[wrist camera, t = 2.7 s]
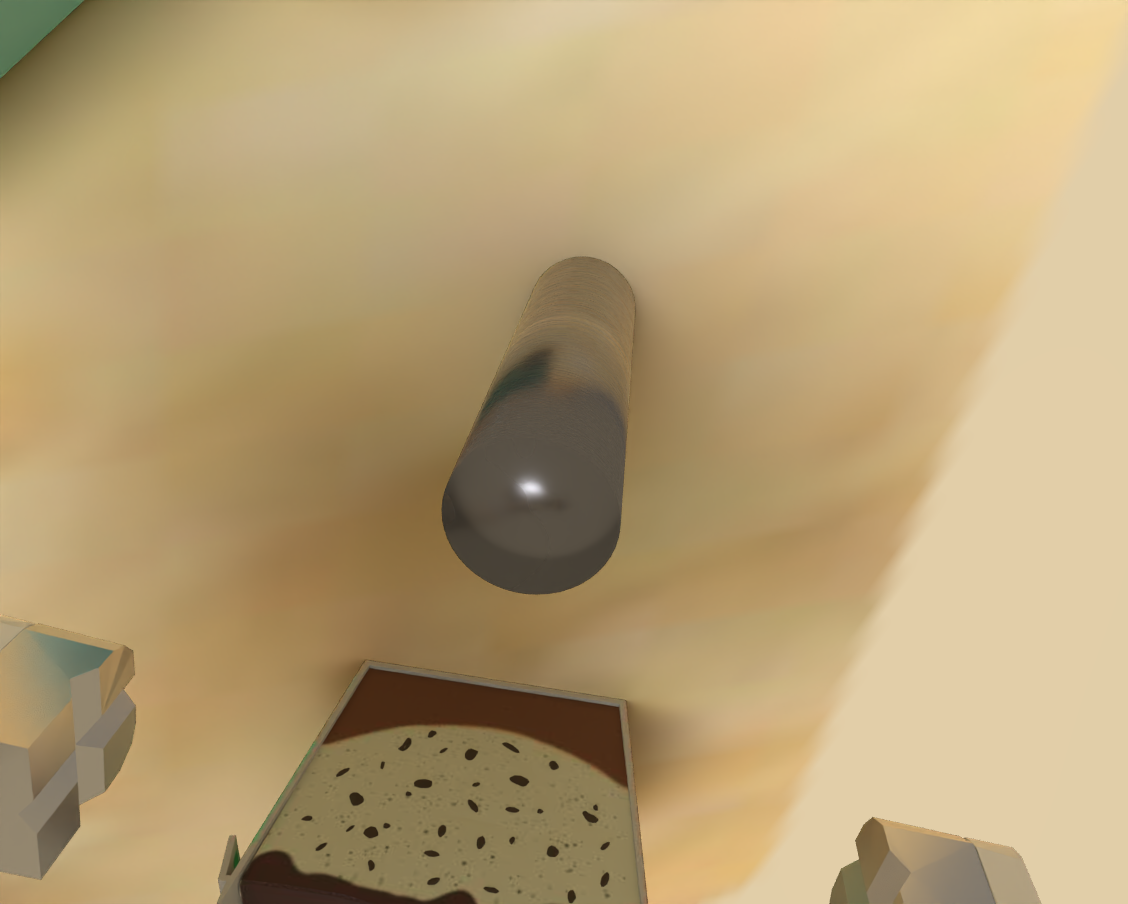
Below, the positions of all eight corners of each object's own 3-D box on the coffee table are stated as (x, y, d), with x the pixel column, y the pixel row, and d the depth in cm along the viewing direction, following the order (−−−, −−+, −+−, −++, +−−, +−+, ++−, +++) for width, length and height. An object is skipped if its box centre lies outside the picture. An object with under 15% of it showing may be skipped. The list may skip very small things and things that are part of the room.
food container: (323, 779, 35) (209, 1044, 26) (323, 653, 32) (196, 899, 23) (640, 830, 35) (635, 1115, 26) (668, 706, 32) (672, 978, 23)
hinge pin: (622, 368, 27) (599, 609, 16) (521, 346, 27) (430, 573, 16) (646, 270, 25) (639, 460, 14) (540, 246, 25) (455, 419, 14)
